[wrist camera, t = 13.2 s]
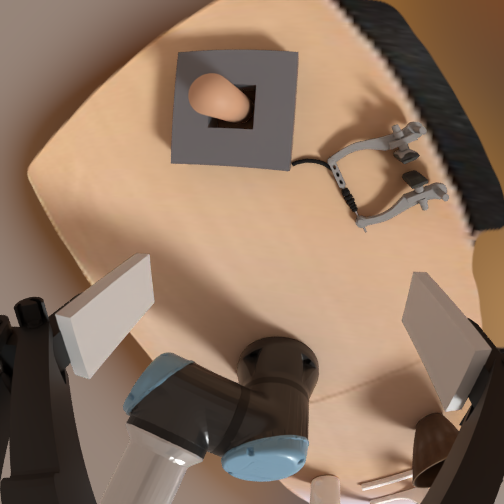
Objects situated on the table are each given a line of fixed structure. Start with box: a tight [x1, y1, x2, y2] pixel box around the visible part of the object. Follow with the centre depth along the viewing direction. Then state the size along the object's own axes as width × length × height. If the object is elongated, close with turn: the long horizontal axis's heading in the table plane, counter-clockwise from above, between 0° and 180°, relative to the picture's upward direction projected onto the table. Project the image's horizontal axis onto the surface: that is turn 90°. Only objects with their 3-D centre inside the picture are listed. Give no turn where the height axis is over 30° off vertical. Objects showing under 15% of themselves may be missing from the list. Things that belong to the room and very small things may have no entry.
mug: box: [310, 475, 340, 504], centre depth 64 cm, size 9×12×11 cm
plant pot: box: [412, 413, 459, 488], centre depth 49 cm, size 15×15×16 cm
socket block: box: [171, 50, 298, 171], centre depth 38 cm, size 16×16×5 cm
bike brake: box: [292, 122, 449, 232], centre depth 39 cm, size 14×7×20 cm
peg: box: [188, 73, 254, 124], centre depth 34 cm, size 4×4×15 cm
